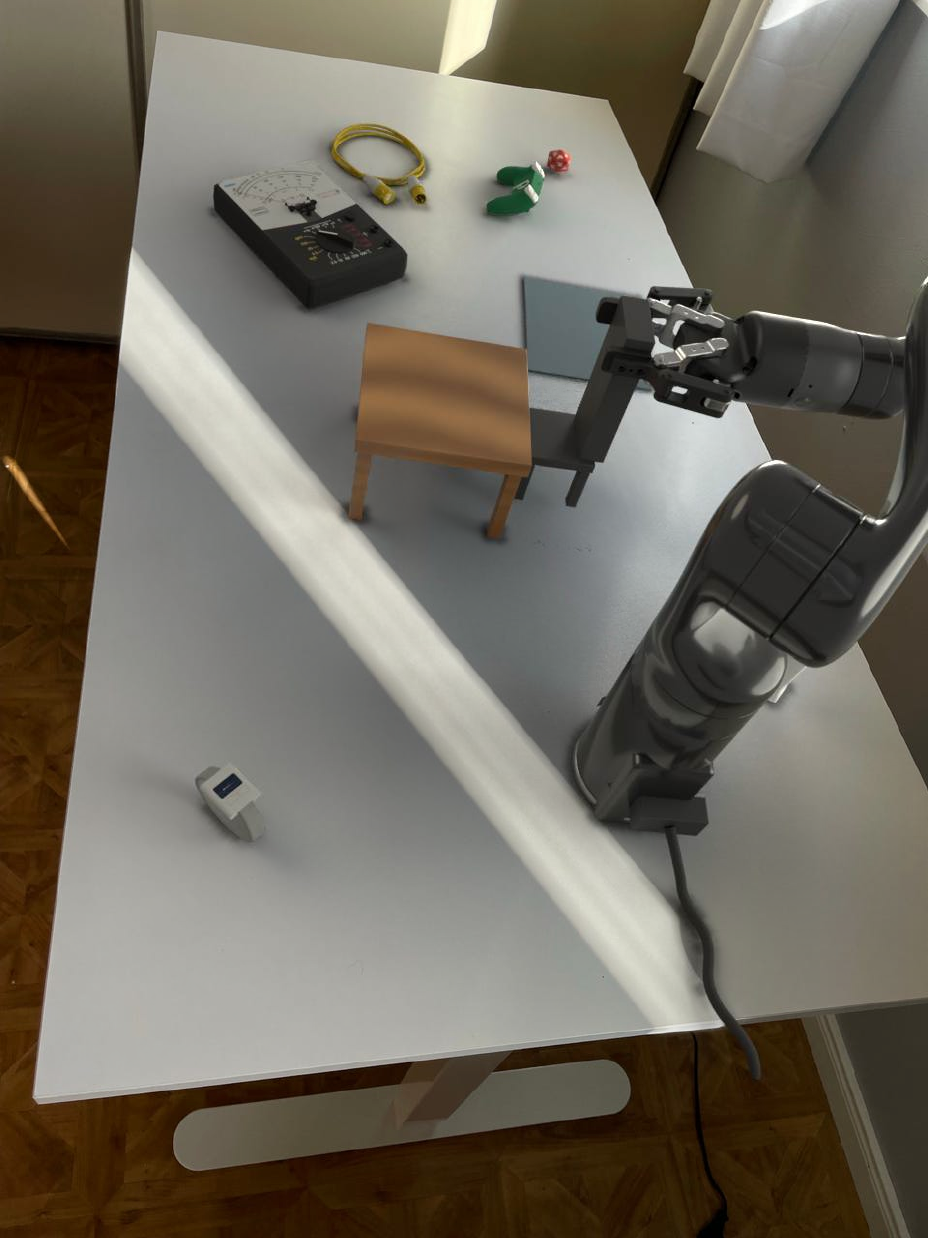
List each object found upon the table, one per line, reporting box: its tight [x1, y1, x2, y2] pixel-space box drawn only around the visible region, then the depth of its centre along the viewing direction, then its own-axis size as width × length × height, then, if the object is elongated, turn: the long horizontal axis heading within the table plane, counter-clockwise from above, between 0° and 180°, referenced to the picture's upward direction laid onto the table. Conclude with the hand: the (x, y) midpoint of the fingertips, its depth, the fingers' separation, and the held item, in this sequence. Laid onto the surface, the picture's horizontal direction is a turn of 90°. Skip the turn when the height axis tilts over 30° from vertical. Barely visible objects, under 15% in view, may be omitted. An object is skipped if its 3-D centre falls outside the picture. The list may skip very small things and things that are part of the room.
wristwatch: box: [194, 762, 266, 843], centre depth 71 cm, size 6×3×5 cm, turn 48°
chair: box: [514, 294, 656, 508], centre depth 89 cm, size 7×6×20 cm
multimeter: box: [212, 159, 408, 309], centre depth 110 cm, size 13×19×5 cm
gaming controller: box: [485, 161, 545, 216], centre depth 124 cm, size 9×4×6 cm
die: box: [546, 148, 572, 174], centre depth 130 cm, size 3×3×3 cm
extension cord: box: [331, 122, 427, 206], centre depth 123 cm, size 12×16×2 cm
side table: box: [347, 322, 532, 539], centre depth 92 cm, size 15×15×10 cm
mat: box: [523, 276, 653, 391], centre depth 113 cm, size 16×14×1 cm
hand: (601, 333), depth 83 cm, fingers closed on chair, 5 cm apart
